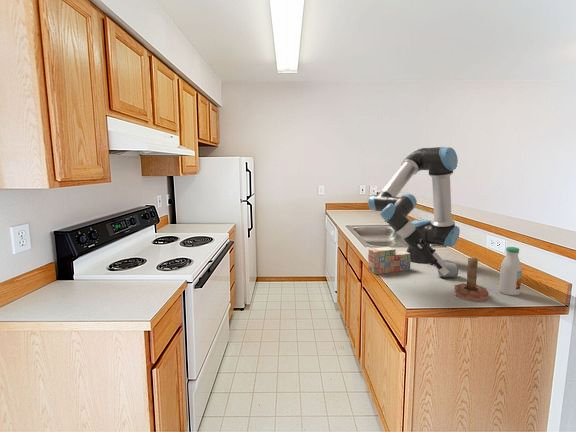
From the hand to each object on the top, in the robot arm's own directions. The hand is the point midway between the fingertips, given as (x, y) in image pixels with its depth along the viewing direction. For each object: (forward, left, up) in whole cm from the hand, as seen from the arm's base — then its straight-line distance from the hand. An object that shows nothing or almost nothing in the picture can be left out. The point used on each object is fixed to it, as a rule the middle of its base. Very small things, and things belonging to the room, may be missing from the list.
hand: (444, 269), depth 148 cm
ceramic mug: (-24, +3, -11) cm, 26 cm away
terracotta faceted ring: (0, +11, -11) cm, 15 cm away
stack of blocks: (-25, -24, -11) cm, 37 cm away
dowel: (0, +10, -11) cm, 15 cm away
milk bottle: (-8, +27, -11) cm, 30 cm away
